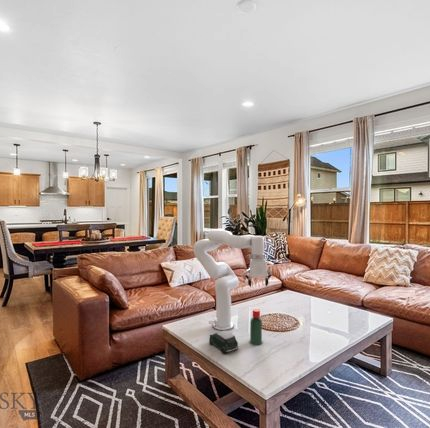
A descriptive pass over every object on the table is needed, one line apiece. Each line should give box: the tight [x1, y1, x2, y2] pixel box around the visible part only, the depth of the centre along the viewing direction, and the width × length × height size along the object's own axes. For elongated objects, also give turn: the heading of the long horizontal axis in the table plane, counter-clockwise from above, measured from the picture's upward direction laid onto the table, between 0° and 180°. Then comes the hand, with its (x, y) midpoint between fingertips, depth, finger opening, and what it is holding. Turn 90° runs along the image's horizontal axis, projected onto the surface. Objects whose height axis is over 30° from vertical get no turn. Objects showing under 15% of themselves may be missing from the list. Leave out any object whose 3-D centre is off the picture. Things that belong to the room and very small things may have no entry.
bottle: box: [249, 316, 263, 346], centre depth 168 cm, size 6×6×18 cm
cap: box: [252, 308, 261, 318], centre depth 168 cm, size 4×4×4 cm
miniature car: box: [208, 330, 240, 354], centre depth 163 cm, size 9×18×8 cm, turn 39°
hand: (258, 286), depth 174 cm, fingers open, 9 cm apart
